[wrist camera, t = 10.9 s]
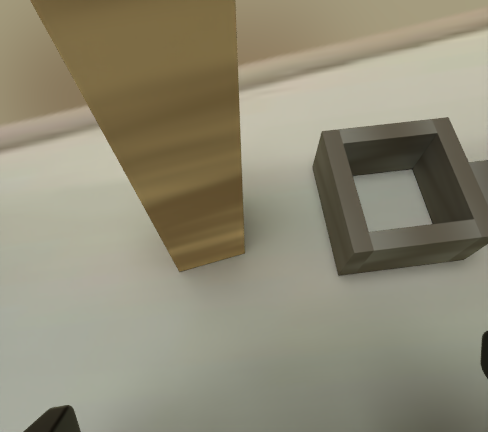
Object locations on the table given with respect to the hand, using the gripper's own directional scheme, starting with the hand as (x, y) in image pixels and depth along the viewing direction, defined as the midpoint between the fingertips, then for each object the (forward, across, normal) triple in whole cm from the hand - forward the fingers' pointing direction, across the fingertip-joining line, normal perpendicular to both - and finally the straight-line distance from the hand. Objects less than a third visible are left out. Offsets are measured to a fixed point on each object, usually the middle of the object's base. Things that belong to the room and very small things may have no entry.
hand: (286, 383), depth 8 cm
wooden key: (+11, +2, 0) cm, 11 cm away
